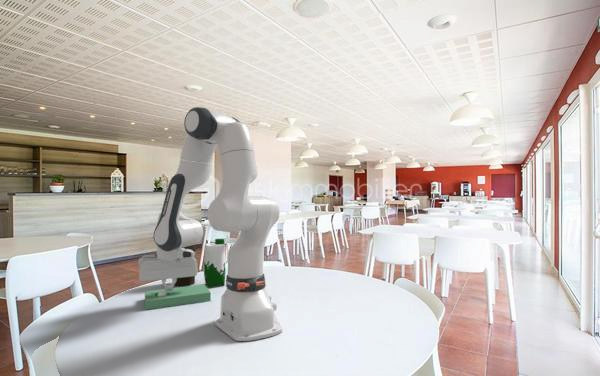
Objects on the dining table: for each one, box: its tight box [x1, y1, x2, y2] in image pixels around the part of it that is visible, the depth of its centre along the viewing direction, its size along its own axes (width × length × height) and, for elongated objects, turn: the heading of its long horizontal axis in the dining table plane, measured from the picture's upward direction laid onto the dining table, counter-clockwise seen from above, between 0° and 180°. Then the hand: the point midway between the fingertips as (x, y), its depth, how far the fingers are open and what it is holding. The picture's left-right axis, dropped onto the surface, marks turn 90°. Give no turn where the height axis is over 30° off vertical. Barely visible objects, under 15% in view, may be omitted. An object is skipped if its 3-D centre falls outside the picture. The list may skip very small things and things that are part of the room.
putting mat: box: [144, 283, 212, 311], centre depth 121 cm, size 22×13×3 cm, turn 117°
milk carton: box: [203, 238, 227, 288], centre depth 143 cm, size 9×9×20 cm
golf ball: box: [157, 291, 167, 296], centre depth 119 cm, size 4×4×4 cm
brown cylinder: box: [171, 244, 197, 287], centre depth 145 cm, size 11×11×25 cm
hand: (169, 290), depth 120 cm, fingers closed
